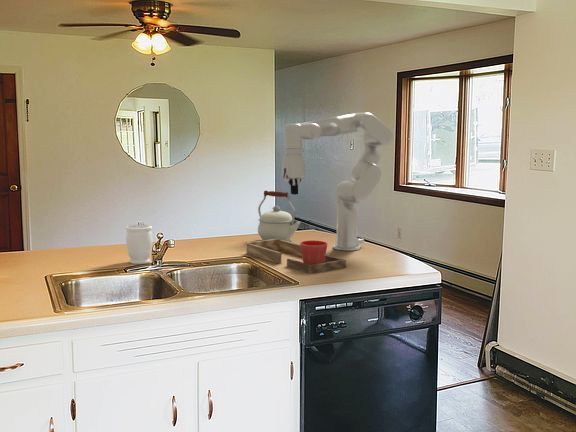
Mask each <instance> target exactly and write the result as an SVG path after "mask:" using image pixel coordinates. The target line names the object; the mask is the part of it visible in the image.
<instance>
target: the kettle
mask: <svg viewBox="0 0 576 432" xmlns="http://www.w3.org/2000/svg"><path fill="white" fill-rule="evenodd" d="M290 195H291V192H284V191H275V190H270V191H268V190H264V191H263V198H262V201H261V202H260V203H259V204H258V207H257V209H258V210H257V211H258V216H259V219H258V221H259V223H258V226H257V235H259V237H260V238H261V241H263V240H271V239H282V240H284V241H288V242H291V239H292V238H293V237H294V235H295V233H296V232H297V230H298V227H299V226H300V224H301V221H296V222H295V223H294V221H295V218H296V208H295V207H294V205H293V204H292V202H291V199H290ZM267 196H269V197H278V198H286V199H287V202H288V204H289V206H290V207H291V208H292V211H293V216H292V215H291V214H290V213H289V212H287V211H284V210H281V207H280V206H278V205H274V206H273V207H272V210H269V211H266V212H264V213H261V207H262V204H263V203H264V202H265V200H266V199H267Z"/></svg>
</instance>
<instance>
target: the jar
mask: <svg viewBox="0 0 576 432" xmlns="http://www.w3.org/2000/svg"><path fill="white" fill-rule="evenodd" d="M152 229H153V226H152V225H149V224H131V225H127V226H125V230H126V235H125V236H126V237H125V245H126V251H127V254H128V257H129V258H130V259H129V260H128V262H129V263H130V264H133V265H144V264H145V265H146V264H149V263H150V262H151V259H150V257H151V255H152V251H153V250H152V249H153V242H154V241H153V233H152Z"/></svg>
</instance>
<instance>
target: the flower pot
mask: <svg viewBox="0 0 576 432" xmlns="http://www.w3.org/2000/svg"><path fill="white" fill-rule="evenodd" d="M299 244H300V246H301V252H302V256H301V257H302V262H303V263H306V264H310V265H313V264H319V263H325V262H324V259H325V255H327V249H328V243H327V241H323V240H303V241H300V243H299Z"/></svg>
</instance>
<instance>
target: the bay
mask: <svg viewBox="0 0 576 432" xmlns="http://www.w3.org/2000/svg"><path fill="white" fill-rule="evenodd" d="M286 266H287V267H289V268H292V269H295V270H297V271H301V272H304V273H308V274H315V273H321V272H326V271H332V270H338V269H339V270H340V269H344V268H347V259H344V258H339V257H336V256H332V255H328V254H326V255H325V259H324V263H319V264H313V265H310V264H306V263H303V261H300V260H295V259H293V258H286Z"/></svg>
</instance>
